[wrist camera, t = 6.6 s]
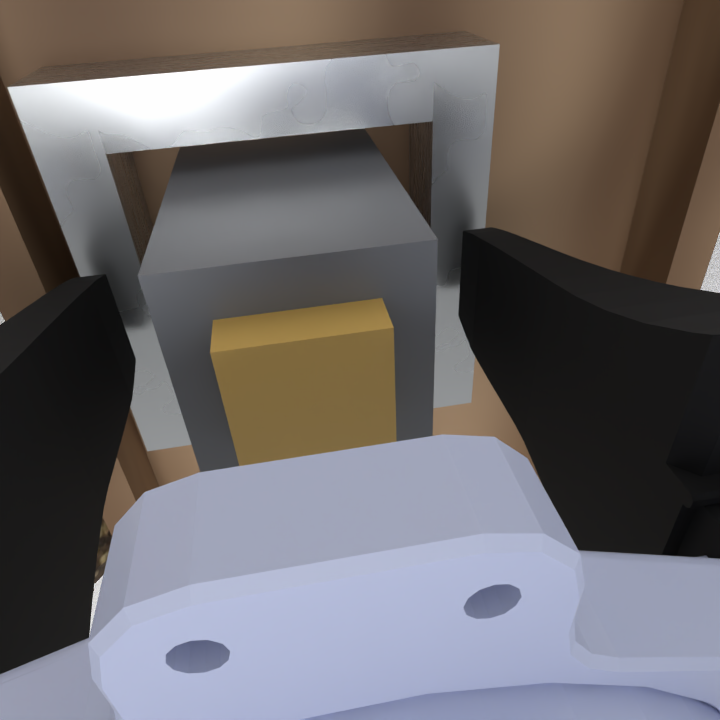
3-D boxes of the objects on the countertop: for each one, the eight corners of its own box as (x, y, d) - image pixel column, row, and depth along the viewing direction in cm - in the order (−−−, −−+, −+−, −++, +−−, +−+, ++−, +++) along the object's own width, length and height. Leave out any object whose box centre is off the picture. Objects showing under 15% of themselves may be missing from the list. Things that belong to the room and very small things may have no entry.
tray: (750, -161, 11) (859, -184, 9) (586, 472, 22) (620, 526, 20) (-124, -115, 10) (-220, -131, 8) (158, 543, 20) (148, 609, 18)
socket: (465, 30, 12) (499, 44, 10) (449, 359, 17) (471, 402, 15) (41, 66, 11) (7, 87, 9) (157, 400, 16) (147, 451, 14)
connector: (364, 128, 13) (455, 265, 7) (372, 288, 15) (445, 482, 10) (180, 146, 12) (127, 307, 7) (217, 307, 15) (201, 522, 9)
